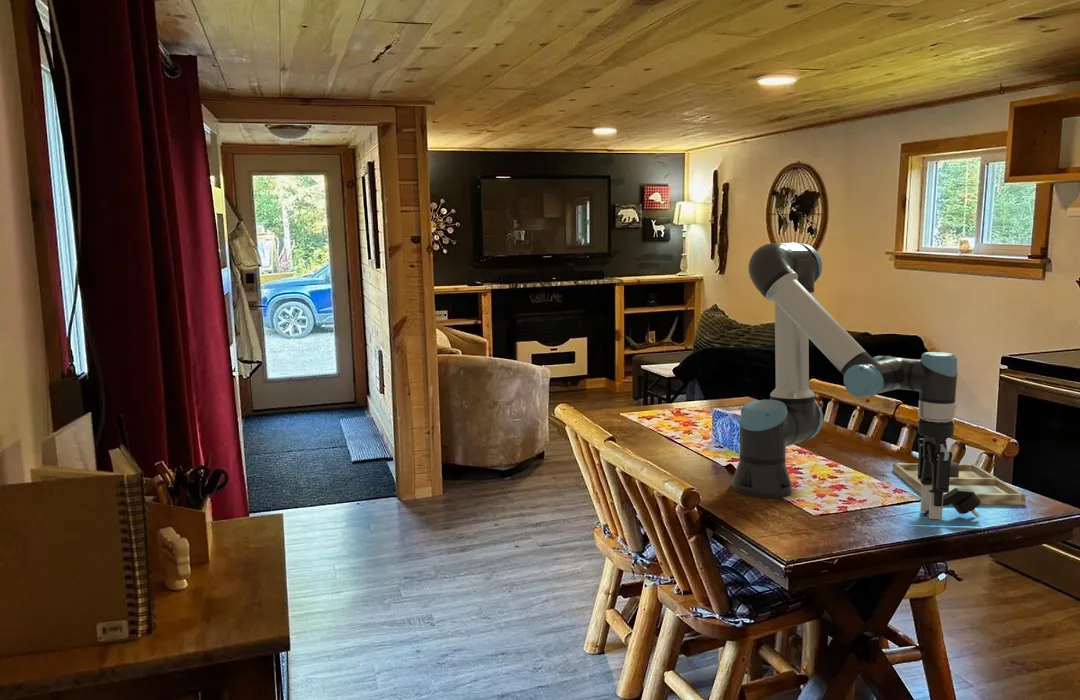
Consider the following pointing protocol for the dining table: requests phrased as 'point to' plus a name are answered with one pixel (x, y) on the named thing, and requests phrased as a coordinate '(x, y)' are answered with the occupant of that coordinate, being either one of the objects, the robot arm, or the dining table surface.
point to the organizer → (969, 483)
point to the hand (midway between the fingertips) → (930, 514)
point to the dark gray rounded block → (954, 470)
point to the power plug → (961, 501)
